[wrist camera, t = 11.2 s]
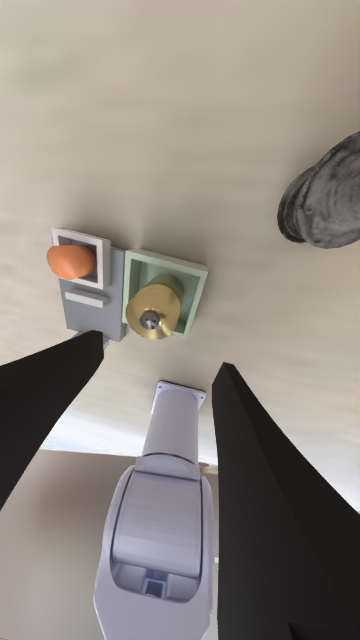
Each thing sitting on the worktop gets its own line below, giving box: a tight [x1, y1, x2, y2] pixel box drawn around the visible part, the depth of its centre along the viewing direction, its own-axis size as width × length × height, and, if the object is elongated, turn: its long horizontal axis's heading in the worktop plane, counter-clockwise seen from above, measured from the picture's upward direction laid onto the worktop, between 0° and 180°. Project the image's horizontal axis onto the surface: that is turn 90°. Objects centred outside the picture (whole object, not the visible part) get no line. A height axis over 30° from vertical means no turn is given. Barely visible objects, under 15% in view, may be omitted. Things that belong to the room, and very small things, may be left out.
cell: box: [125, 274, 184, 339], centre depth 14 cm, size 4×4×7 cm
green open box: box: [122, 248, 208, 339], centre depth 16 cm, size 7×7×4 cm
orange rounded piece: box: [47, 245, 97, 280], centre depth 13 cm, size 3×3×2 cm
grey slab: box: [51, 227, 126, 350], centre depth 17 cm, size 13×7×3 cm, turn 167°
